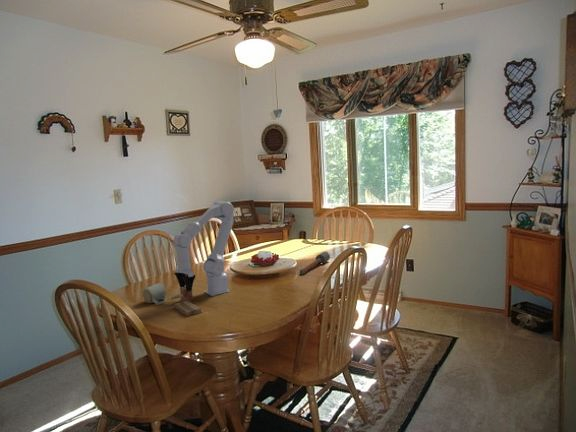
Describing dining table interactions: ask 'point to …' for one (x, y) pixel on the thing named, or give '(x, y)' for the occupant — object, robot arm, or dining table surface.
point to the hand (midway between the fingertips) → (185, 288)
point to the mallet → (316, 261)
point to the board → (187, 308)
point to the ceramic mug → (155, 294)
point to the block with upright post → (183, 295)
